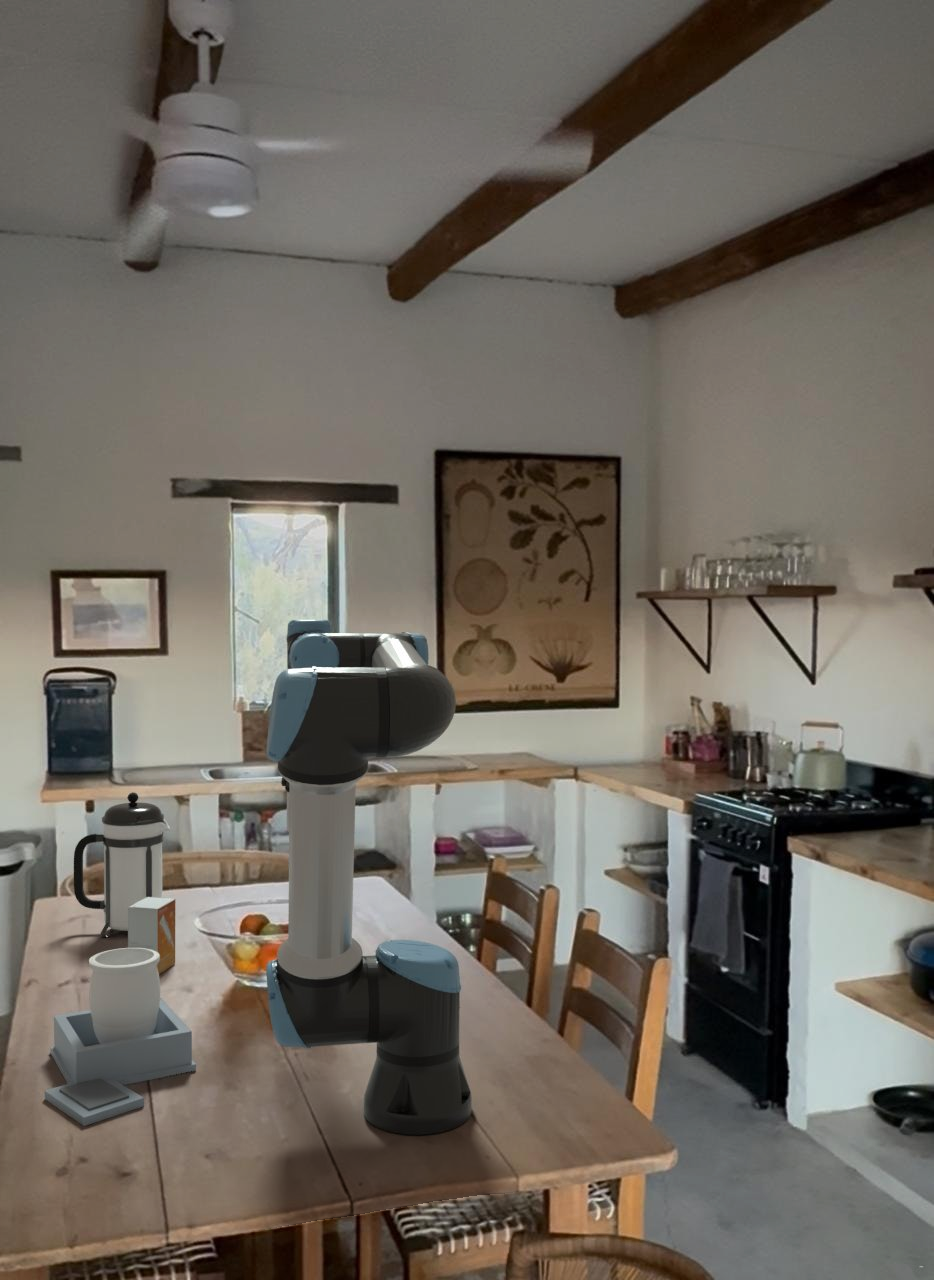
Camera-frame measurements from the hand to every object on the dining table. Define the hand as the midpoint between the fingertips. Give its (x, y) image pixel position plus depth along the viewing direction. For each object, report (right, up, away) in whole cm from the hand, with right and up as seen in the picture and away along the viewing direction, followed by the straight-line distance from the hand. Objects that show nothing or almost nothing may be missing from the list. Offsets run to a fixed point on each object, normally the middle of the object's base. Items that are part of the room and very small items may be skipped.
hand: (309, 836), depth 198 cm
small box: (-34, -31, +29) cm, 54 cm away
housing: (-27, -32, -16) cm, 45 cm away
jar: (-27, -31, -16) cm, 44 cm away
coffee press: (-47, -30, +54) cm, 77 cm away
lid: (-27, -33, -31) cm, 52 cm away
